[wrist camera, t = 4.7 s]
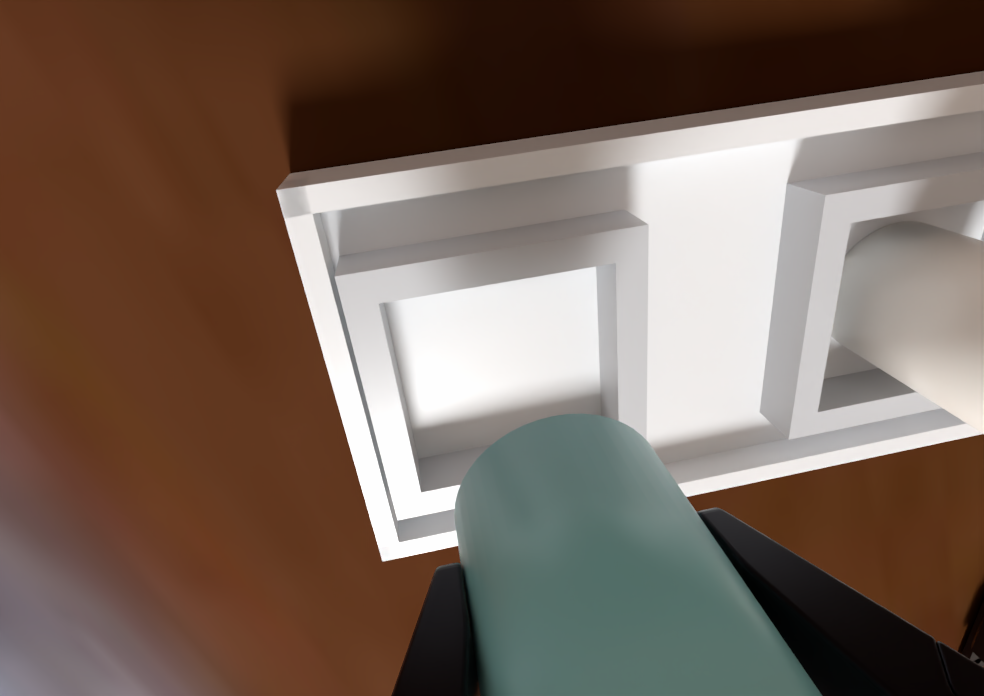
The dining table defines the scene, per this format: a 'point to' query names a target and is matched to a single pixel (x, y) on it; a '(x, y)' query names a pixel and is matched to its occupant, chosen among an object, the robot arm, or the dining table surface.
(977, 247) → the fitted cream cylinder
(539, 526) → the teal capsule cylinder
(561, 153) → the housing
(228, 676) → the dining table surface
